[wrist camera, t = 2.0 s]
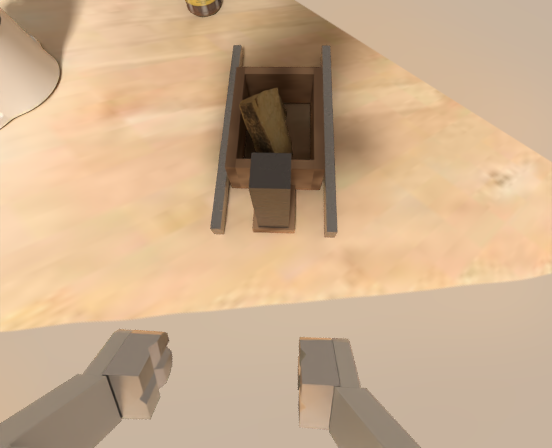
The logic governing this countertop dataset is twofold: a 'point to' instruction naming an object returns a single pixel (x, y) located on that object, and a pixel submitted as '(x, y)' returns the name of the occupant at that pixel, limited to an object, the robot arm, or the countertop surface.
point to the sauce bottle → (203, 7)
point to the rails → (329, 173)
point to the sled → (276, 166)
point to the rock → (267, 122)
